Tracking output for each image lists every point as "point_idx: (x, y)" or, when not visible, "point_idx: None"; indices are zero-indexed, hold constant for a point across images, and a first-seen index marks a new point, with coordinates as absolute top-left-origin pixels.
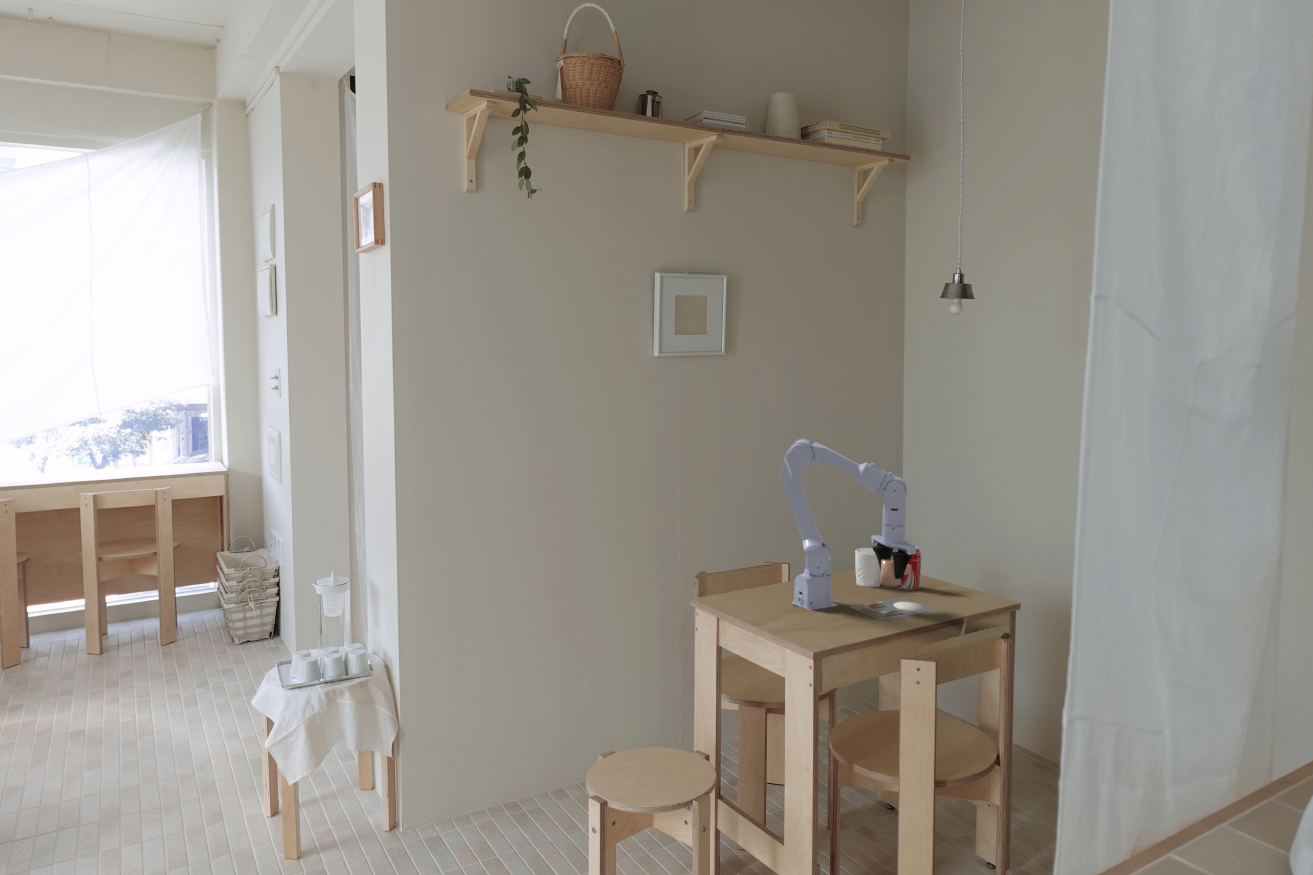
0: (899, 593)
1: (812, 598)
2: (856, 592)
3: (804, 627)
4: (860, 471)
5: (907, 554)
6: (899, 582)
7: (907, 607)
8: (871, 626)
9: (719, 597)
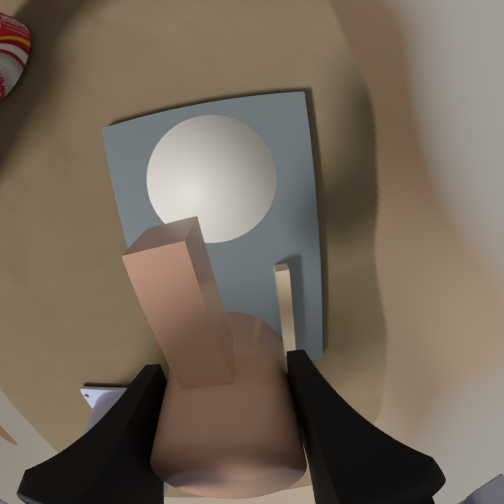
0: (36, 111)
1: None
2: (14, 260)
3: None
4: None
5: (420, 502)
6: (270, 333)
7: (228, 196)
8: (333, 383)
9: None
